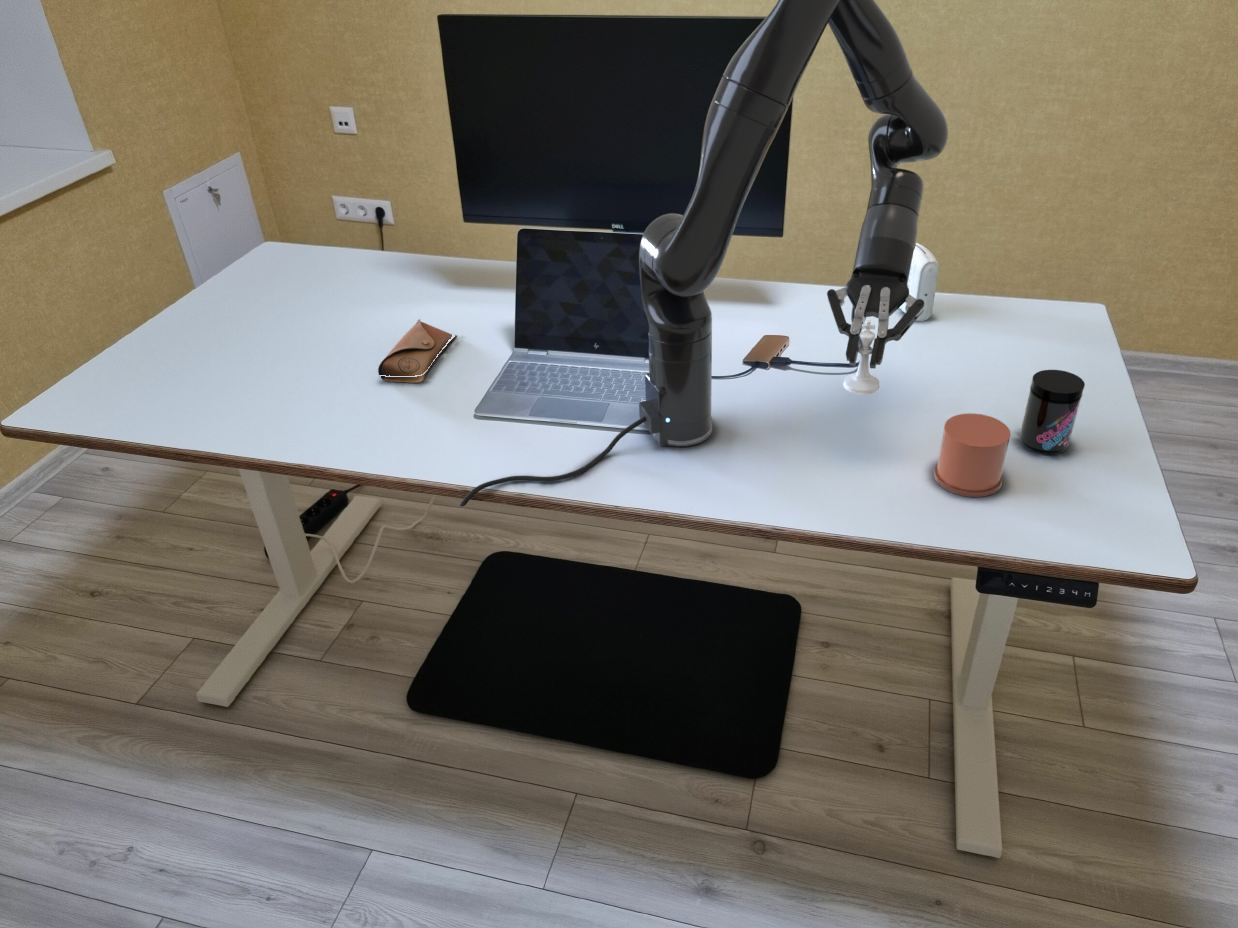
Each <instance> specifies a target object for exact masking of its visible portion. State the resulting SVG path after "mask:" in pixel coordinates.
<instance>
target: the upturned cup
mask: <svg viewBox="0 0 1238 928" xmlns="http://www.w3.org/2000/svg"><path fill="white" fill-rule="evenodd" d="M1010 440H1011V431H1010V428H1009V427H1008V426H1007V424H1005V423H1004V422H1003V421H1001V420H999V419H997V418H995V417H992V416H990V415H986V414H981V413H970V412H969V413H960V414H957V415H953V416H951V417H950V418H948V419H947V420H946V421H945V423H944V426H943V432H942V437H941V443H940V448H939V454H938V460H937V463H936V464H935V466H934V470H933V478H934V479H935V482H936V483H937V484H938V485H939V487H941V488H942V489H944V490H945V491H948V492H950V493H952V494H954V495H958V496H960V497H961V496H962V497H965V498H967V497H968V498H983V497H988V496H991V495H994V494H995V493H997V492H998V491H1000V489H1001V488H1002V485H1003V480H1004V475H1003V470H1004V467H1005V461H1006V457H1007V452H1008V448H1009V444H1010Z"/></svg>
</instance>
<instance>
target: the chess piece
mask: <svg viewBox="0 0 1238 928" xmlns="http://www.w3.org/2000/svg"><path fill="white" fill-rule="evenodd" d="M871 322H872V320H866V324H865V323H864V324H862V331H861V333H860V344H861V345H859V348H858V354H861V355H860V358H859V362H858V367H857V370H856V372H853V373H851V374H849V375H847V376H846V377H844V380H843V384H842V387H843V388H844V389H845V390H846V391H847V392H849V393H851V394H855V395H861V396H863V395H864V396H867V395H872V394H875V393H877V392H878V391H879V390H880V380H879V379H878V377H876V376H874V375H873V374H870V360H869V358H870V355H872V350H873V346H871V345H872V344H873V342H874V339H875V338H876V334H875V332H874V331H872V330H875V329H876V325H875V324H872V323H871ZM864 329H865V330H864Z"/></svg>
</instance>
